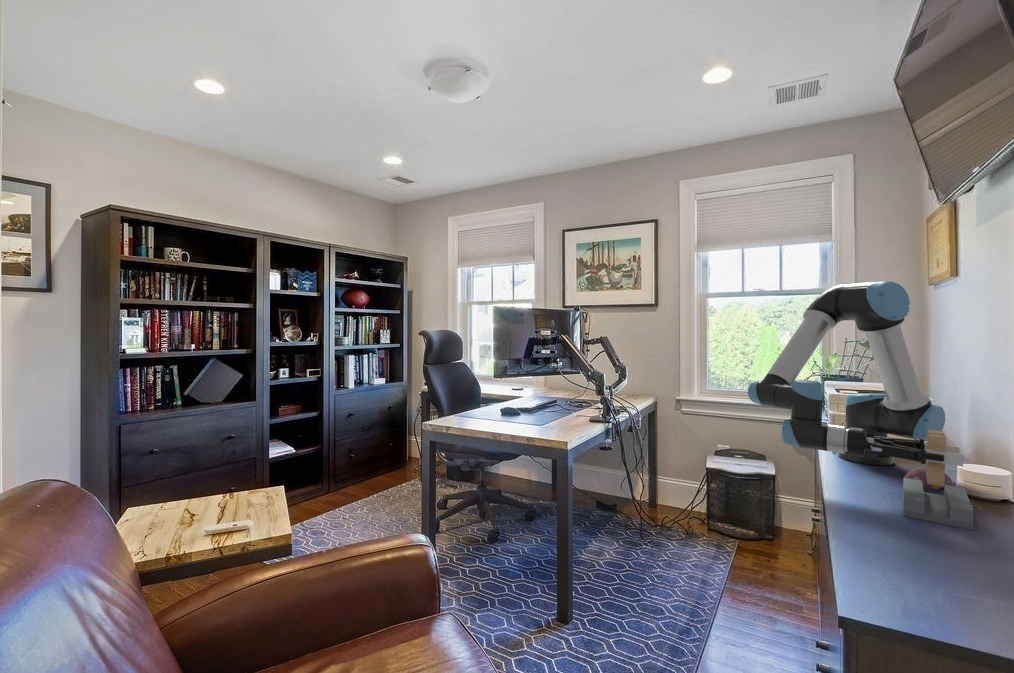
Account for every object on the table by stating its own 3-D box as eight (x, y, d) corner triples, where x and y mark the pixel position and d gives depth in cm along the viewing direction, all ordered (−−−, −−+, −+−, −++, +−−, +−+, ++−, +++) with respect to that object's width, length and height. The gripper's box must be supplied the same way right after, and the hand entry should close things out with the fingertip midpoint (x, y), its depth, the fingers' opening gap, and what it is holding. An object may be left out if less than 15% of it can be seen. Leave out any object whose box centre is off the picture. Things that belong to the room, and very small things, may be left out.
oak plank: (925, 475, 121) (927, 429, 121) (941, 477, 119) (943, 431, 119) (927, 483, 114) (929, 435, 114) (944, 486, 112) (946, 437, 112)
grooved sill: (903, 493, 128) (903, 477, 128) (963, 504, 120) (964, 487, 120) (903, 515, 113) (903, 497, 113) (972, 530, 105) (973, 510, 105)
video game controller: (905, 491, 135) (909, 472, 132) (901, 480, 139) (905, 462, 136) (950, 497, 130) (955, 478, 128) (945, 485, 134) (950, 467, 131)
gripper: (850, 446, 136) (956, 462, 122) (843, 462, 120) (965, 482, 105) (850, 421, 136) (957, 433, 122) (844, 433, 120) (966, 449, 105)
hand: (961, 456), depth 113 cm, fingers closed on oak plank, 9 cm apart
